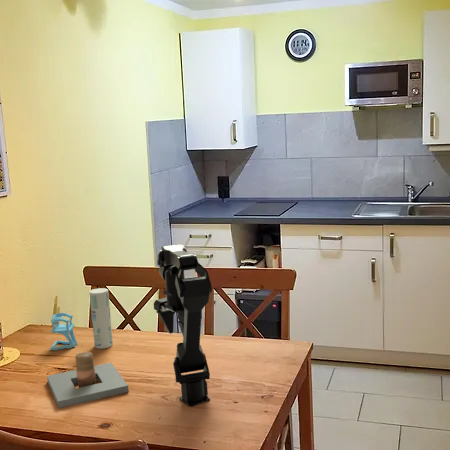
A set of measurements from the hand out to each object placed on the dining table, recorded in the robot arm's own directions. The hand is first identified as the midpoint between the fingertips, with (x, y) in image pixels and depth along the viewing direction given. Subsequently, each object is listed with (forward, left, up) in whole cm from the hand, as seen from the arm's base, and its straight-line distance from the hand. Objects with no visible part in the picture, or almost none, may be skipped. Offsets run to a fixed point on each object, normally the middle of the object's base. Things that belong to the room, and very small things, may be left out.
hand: (179, 337), depth 188 cm
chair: (-18, +52, -13) cm, 56 cm away
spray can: (-7, +43, -13) cm, 45 cm away
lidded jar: (-25, +14, -13) cm, 31 cm away
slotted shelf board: (-25, +14, -13) cm, 31 cm away
